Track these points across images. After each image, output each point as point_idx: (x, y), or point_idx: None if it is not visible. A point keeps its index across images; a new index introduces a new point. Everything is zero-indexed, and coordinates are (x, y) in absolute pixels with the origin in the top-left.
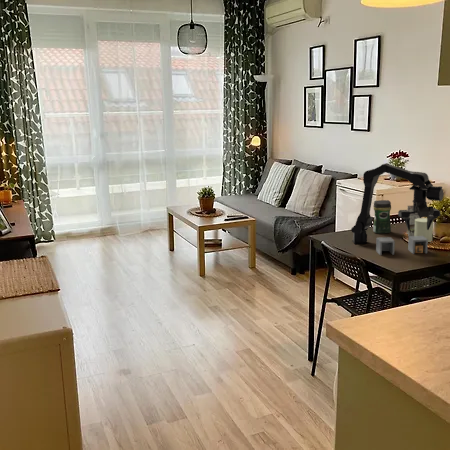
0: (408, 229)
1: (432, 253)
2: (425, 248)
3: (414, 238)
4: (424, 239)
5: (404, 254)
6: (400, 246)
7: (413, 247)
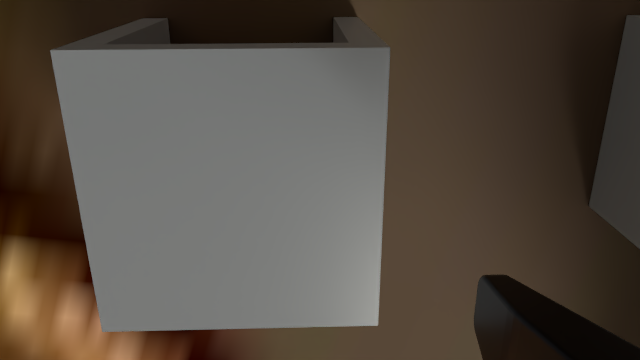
0: (533, 293)
1: (66, 4)
2: (150, 41)
3: (319, 175)
4: (126, 69)
5: (482, 5)
6: (394, 345)
7: (361, 29)
